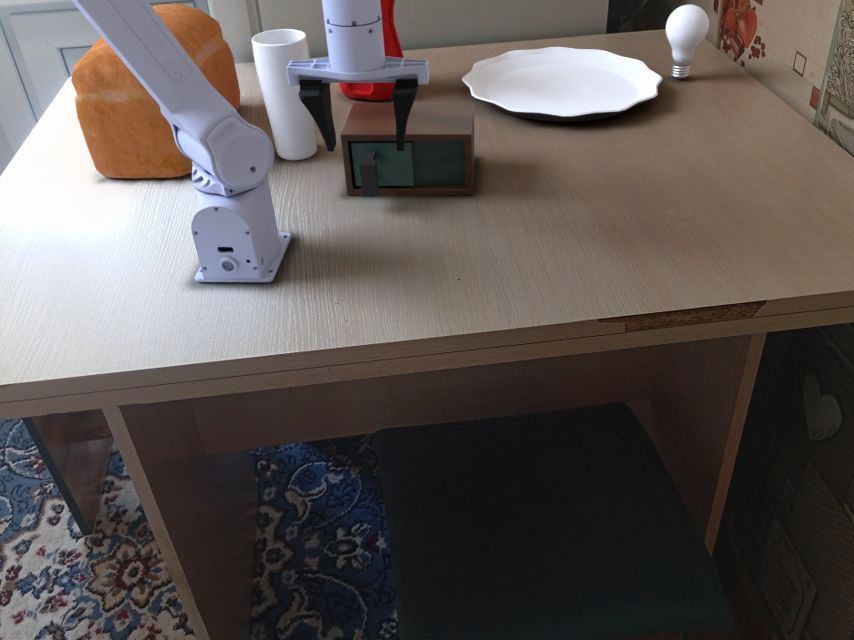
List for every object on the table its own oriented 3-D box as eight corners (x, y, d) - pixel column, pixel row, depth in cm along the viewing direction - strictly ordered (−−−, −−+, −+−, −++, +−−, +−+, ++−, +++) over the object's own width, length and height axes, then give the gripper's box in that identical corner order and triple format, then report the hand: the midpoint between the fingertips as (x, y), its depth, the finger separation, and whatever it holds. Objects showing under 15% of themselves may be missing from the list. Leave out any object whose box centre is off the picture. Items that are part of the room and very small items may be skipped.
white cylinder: (312, 166, 101) (295, 46, 92) (263, 162, 102) (241, 44, 93) (330, 144, 106) (315, 29, 97) (283, 141, 107) (263, 27, 98)
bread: (248, 103, 119) (227, -8, 109) (197, 180, 98) (165, 51, 88) (158, 104, 119) (129, -7, 110) (89, 181, 99) (45, 52, 89)
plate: (438, 119, 112) (438, 103, 111) (493, 55, 134) (493, 41, 133) (646, 140, 105) (648, 123, 104) (668, 69, 127) (670, 54, 126)
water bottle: (329, 103, 118) (304, -84, 103) (359, 79, 126) (341, -98, 111) (385, 109, 116) (369, -81, 100) (412, 84, 124) (401, -96, 109)
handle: (410, 203, 90) (407, 159, 87) (350, 203, 90) (344, 159, 87) (414, 183, 94) (411, 140, 91) (356, 183, 94) (351, 141, 91)
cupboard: (472, 195, 94) (471, 134, 89) (347, 195, 94) (339, 134, 90) (474, 159, 101) (473, 102, 97) (359, 160, 102) (353, 102, 97)
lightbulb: (651, 74, 125) (660, 1, 119) (686, 70, 127) (698, -3, 120) (671, 88, 121) (682, 12, 114) (707, 82, 122) (720, 8, 115)
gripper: (428, 6, 81) (434, 132, 89) (289, 8, 82) (308, 133, 90) (423, 26, 76) (430, 159, 84) (274, 28, 76) (295, 159, 84)
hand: (366, 147), depth 87 cm, fingers open, 7 cm apart
